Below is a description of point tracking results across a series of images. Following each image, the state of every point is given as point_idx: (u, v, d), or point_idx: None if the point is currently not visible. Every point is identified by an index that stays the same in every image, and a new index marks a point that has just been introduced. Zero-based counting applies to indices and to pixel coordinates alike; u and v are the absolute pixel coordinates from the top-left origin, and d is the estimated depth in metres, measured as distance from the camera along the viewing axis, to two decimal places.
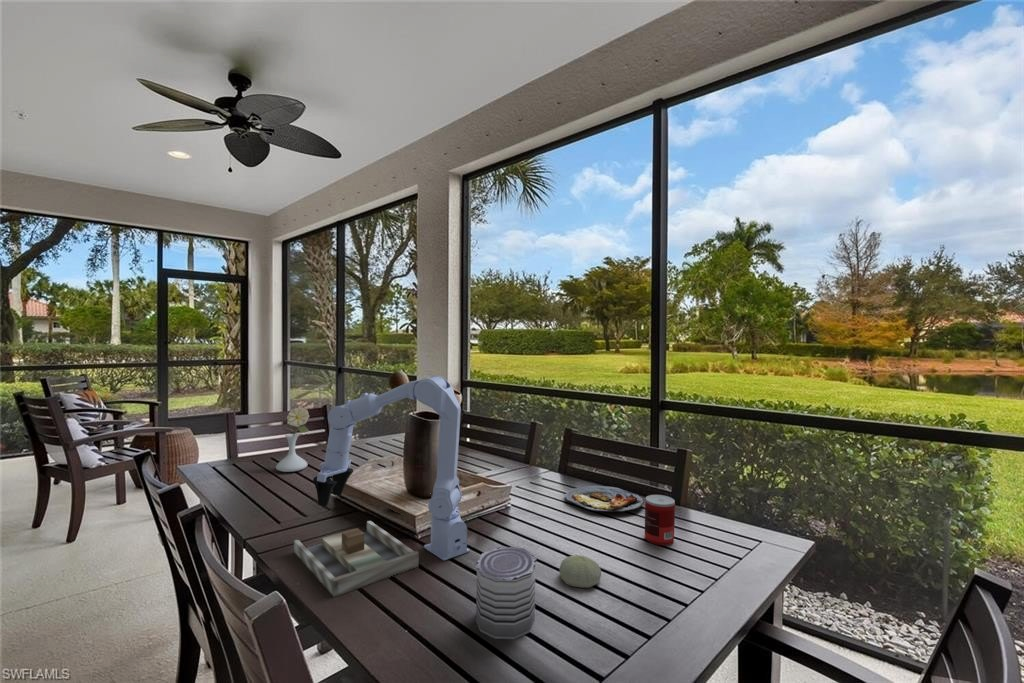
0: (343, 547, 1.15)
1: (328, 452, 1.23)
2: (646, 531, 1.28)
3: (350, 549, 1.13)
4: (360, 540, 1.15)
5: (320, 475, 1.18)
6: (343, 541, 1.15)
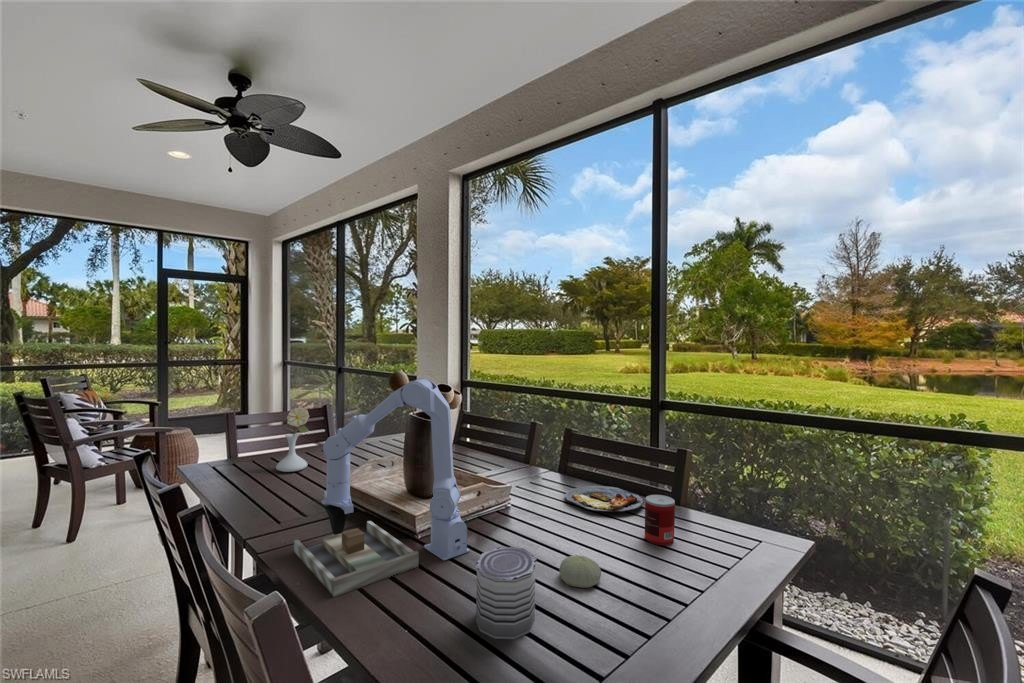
0: (343, 547, 1.15)
1: (336, 485, 1.20)
2: (646, 531, 1.28)
3: (350, 549, 1.13)
4: (360, 540, 1.15)
5: (348, 507, 1.17)
6: (343, 541, 1.15)
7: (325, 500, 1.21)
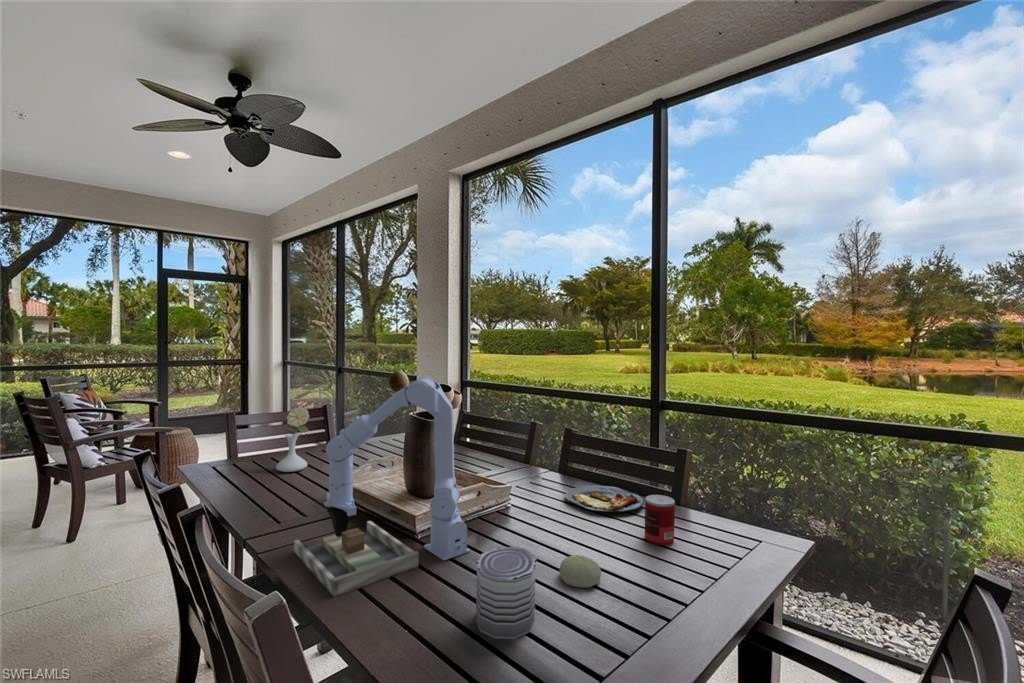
0: (343, 547, 1.15)
1: (339, 487, 1.19)
2: (646, 531, 1.28)
3: (350, 549, 1.13)
4: (360, 540, 1.15)
5: (351, 509, 1.16)
6: (343, 541, 1.15)
7: (328, 502, 1.19)
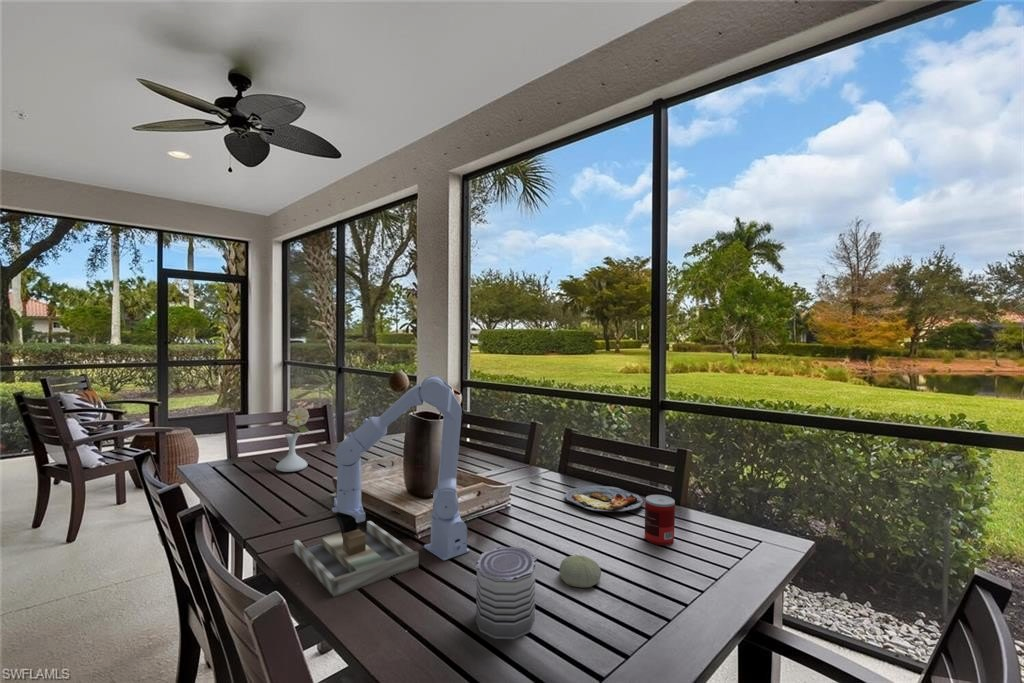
0: (344, 548, 1.14)
1: (347, 492, 1.15)
2: (646, 531, 1.28)
3: (351, 550, 1.13)
4: (361, 541, 1.14)
5: (360, 515, 1.12)
6: (344, 542, 1.15)
7: (335, 508, 1.15)
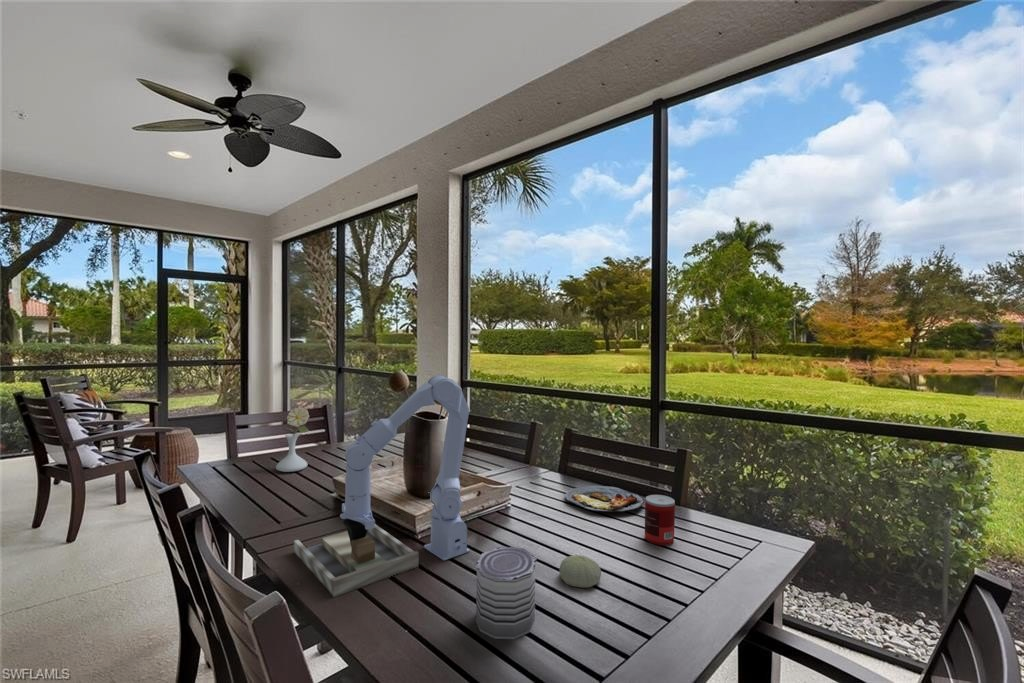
0: (353, 556, 1.10)
1: (356, 498, 1.11)
2: (646, 531, 1.28)
3: (360, 558, 1.09)
4: (370, 549, 1.10)
5: (370, 522, 1.08)
6: (352, 550, 1.11)
7: (344, 514, 1.11)
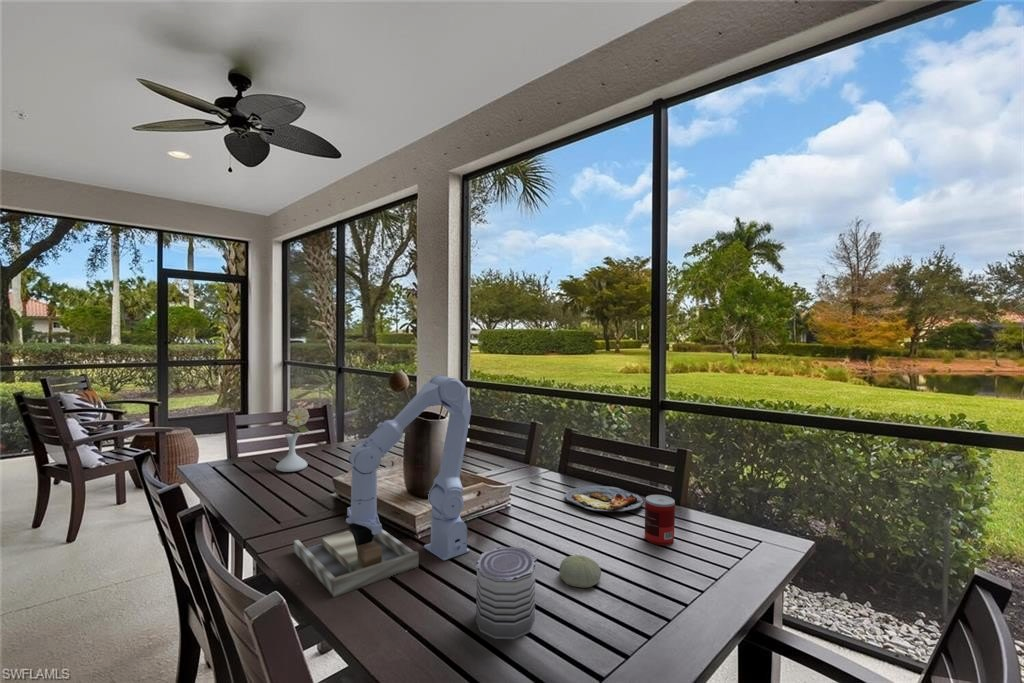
0: (359, 562, 1.08)
1: (362, 502, 1.08)
2: (646, 531, 1.28)
3: (366, 564, 1.06)
4: (377, 554, 1.08)
5: (376, 527, 1.05)
6: (358, 555, 1.08)
7: (350, 519, 1.09)
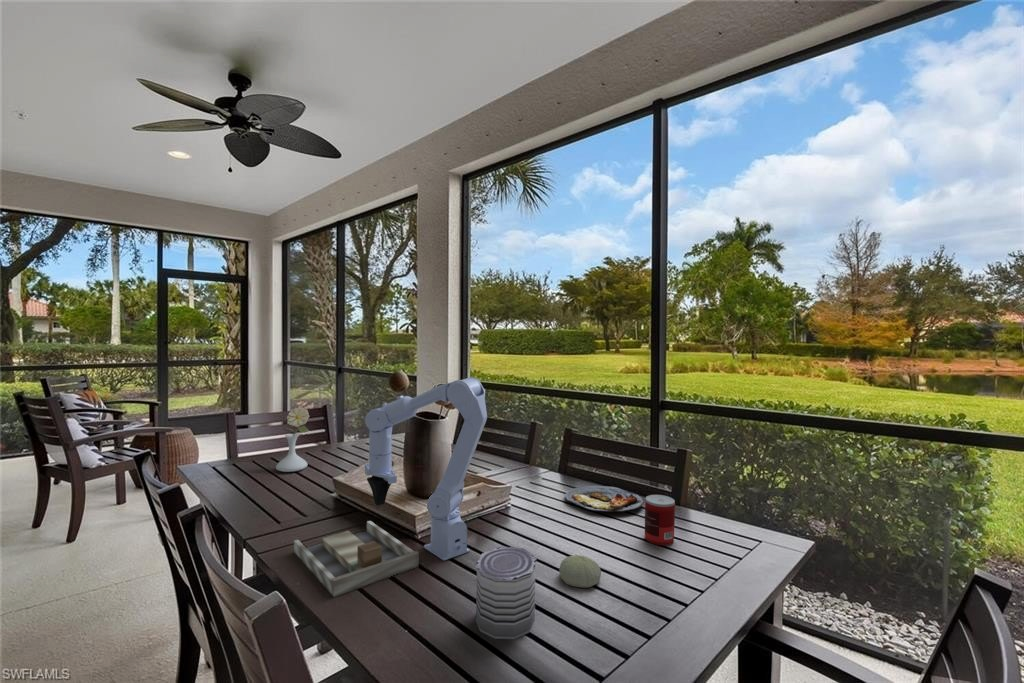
0: (359, 562, 1.08)
1: (379, 457, 1.23)
2: (646, 531, 1.28)
3: (366, 564, 1.06)
4: (377, 554, 1.08)
5: (392, 477, 1.21)
6: (358, 555, 1.08)
7: (368, 471, 1.24)
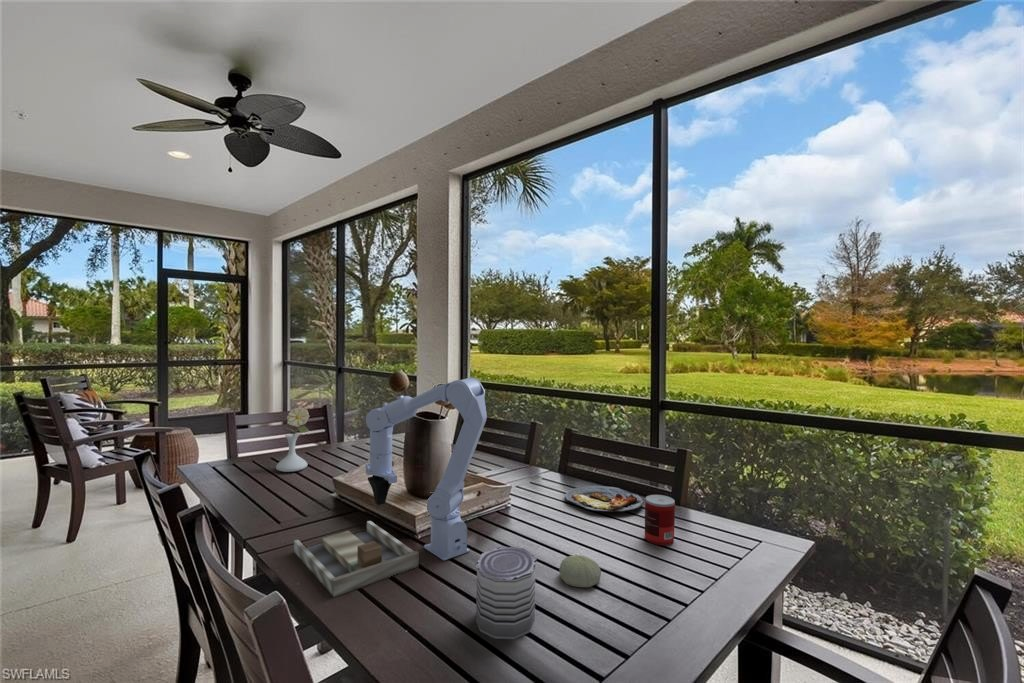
0: (359, 562, 1.08)
1: (380, 456, 1.24)
2: (646, 531, 1.28)
3: (366, 564, 1.06)
4: (377, 554, 1.08)
5: (393, 477, 1.21)
6: (358, 555, 1.08)
7: (369, 471, 1.24)
